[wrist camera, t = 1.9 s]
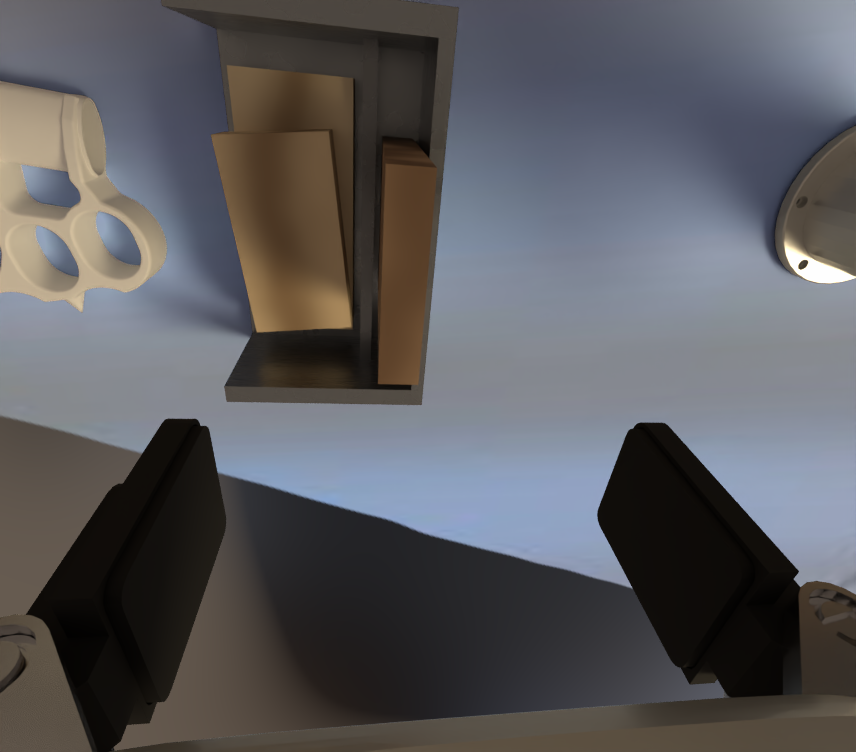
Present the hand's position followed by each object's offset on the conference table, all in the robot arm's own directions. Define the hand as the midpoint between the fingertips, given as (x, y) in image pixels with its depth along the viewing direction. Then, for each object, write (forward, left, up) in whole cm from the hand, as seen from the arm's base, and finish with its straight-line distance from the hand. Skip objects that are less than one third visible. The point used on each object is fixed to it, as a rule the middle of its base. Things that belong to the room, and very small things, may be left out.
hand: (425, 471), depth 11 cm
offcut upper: (+6, +1, -24) cm, 25 cm away
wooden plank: (0, 0, -27) cm, 27 cm away
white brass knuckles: (+25, +1, -29) cm, 38 cm away
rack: (+4, 0, -28) cm, 28 cm away
